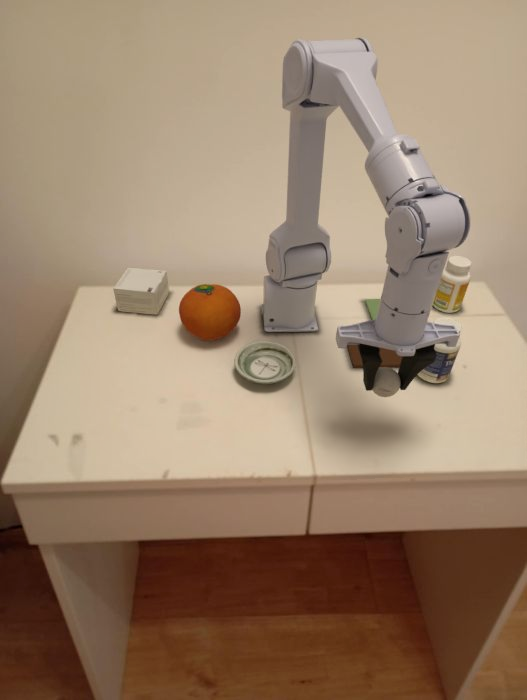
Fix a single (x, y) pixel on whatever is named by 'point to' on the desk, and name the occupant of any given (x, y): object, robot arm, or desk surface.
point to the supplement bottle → (453, 284)
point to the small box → (141, 291)
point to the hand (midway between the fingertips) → (383, 385)
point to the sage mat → (373, 307)
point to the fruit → (209, 311)
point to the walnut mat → (386, 355)
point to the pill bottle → (442, 357)
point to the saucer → (265, 362)
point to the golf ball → (386, 382)
